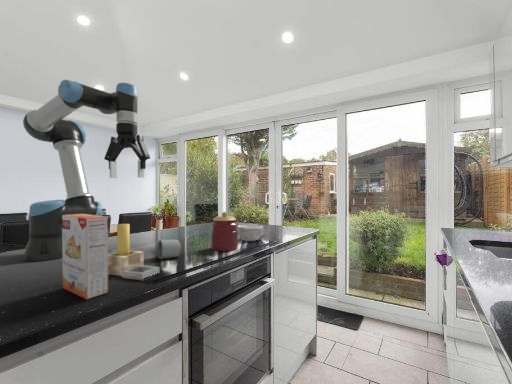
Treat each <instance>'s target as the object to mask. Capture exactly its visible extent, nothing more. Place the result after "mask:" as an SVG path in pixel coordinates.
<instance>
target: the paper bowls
mask: <svg viewBox="0 0 512 384" xmlns="http://www.w3.org/2000/svg"><path fill="white" fill-rule="evenodd" d="M237 230H238V237H239V238H240V240H242V241H243V240H244V241H245V242H257V241H259V240H260V237H261V236H263V235H264V226H263V225H257V224H238V225H237ZM256 240H257V241H256Z"/></svg>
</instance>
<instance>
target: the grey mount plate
mask: <svg viewBox="0 0 512 384" xmlns="http://www.w3.org/2000/svg"><path fill="white" fill-rule="evenodd" d="M157 273H158V274H160V266H156V265H155V266H154V265H146V264H144V265H138V266H135V267H133V268H130V269H127V270H125V271H122V276H121V278H123V279H130V280H137V281H144V280H143V279H144V278H146V277H149V276H151V277H153V276H152V275H154V276H155V274H156V275H157ZM149 278H150V277H149Z"/></svg>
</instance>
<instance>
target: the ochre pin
mask: <svg viewBox="0 0 512 384" xmlns="http://www.w3.org/2000/svg"><path fill="white" fill-rule="evenodd" d="M116 226H117V227H116V228H117V232H116V233H117V235H116V236H117V237H116V241H117V242H116V249H117V251H116V252H117V255H120V256H125V255H129V254H130V251H131V249H130V248H131V246H130V245H131V243H130V241H131V239H130V237H131V236H130V235H131V234H130V233H131V232H130V230H131V229H130V227H131V225H130V223H117V225H116Z"/></svg>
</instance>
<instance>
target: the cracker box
mask: <svg viewBox="0 0 512 384" xmlns="http://www.w3.org/2000/svg"><path fill="white" fill-rule="evenodd" d="M108 217H109V216H106V215H104V216H103V215H102V216H97V215H89V214H68V215H62V252H63V257H62V288H63V289H64V290H66V291H68V292H70V293H72V294H74V295H76V296H78V297H81V298H83V299H84V300H91V299H93V298H96V297H99V296H103V295H105V294H108V293H109V274H108V254H109V218H108Z"/></svg>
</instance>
